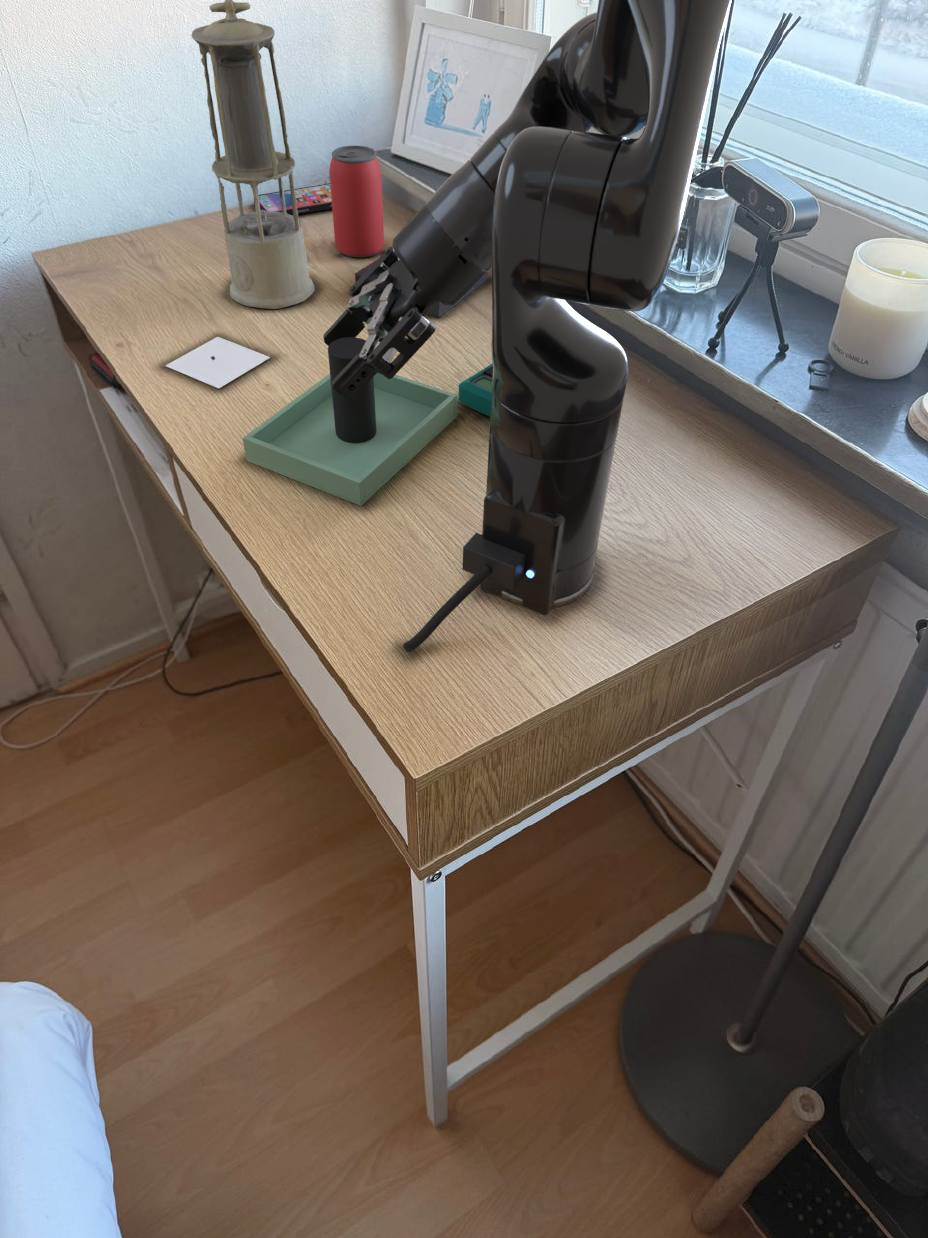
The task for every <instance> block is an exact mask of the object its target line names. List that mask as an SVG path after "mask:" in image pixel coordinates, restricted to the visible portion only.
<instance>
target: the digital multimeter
mask: <svg viewBox="0 0 928 1238" xmlns="http://www.w3.org/2000/svg"><path fill="white" fill-rule="evenodd" d="M492 378H493V363H491V364H489V365H488V366H486V367H484V368H483V369H481V370H480V371H478V372H476V373H475V374H473V375H471V376H470V377H468V378H467V379H465V380H463V381H461V382H460V383H459V384H458V395H457V401H458V402H460V403H461V404H462V405H464V406H466V407H469V408H470V409H472V410H473V411H476V412H478V413H480V414H483V415H485V416H487V417H489V418H490V417H491V399H492Z"/></svg>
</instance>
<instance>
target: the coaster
mask: <svg viewBox="0 0 928 1238" xmlns="http://www.w3.org/2000/svg"><path fill="white" fill-rule="evenodd" d="M270 358H271V357H270V356H268V355H266V354H263V353H260V352H258V351H256V350H253V349H250V348H248V347H245V346H243V345H240V344H238V343H235V342H233V341H230V340H229V339H228V340H227V339H225V338H222V337H220V336H216V337H213V339H211V340H209V341H207V342H205V343H203V344H202V345H200V346H197V347H196V348H195V349H192V350H190V351H189V352H187V353H186V354H184V355H182V356H179V357H178V358H176V359H175V360H173V361H171V362H169V363H167V364H166V365H164V367H167V368H169V369H171V370H174V371H176V372H179V373H181V374H183V375H186V376H188V377H191V378H193V379H195V380H196V381H197V380H198V381H200V382H203V383H204V384H207V385H209V386H212V387H213V388H216V389H221V388H222V387H224V386H225V385H227V384H229V383H230V382H232V381H234V380H235V379H237V378H239V377H241V376H242V375H244V374H245V373H247V372H249V371H250V370H252V369H254V368H256V367H258V366H259V365H261V364H262V363H264V362H265V361H267V360H269V359H270Z"/></svg>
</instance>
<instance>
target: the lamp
mask: <svg viewBox="0 0 928 1238" xmlns="http://www.w3.org/2000/svg"><path fill="white" fill-rule="evenodd" d="M250 9H251V4H250V3H249V2H246V1H245V2H239V1H237V2H236V1H234V0H224V1H223V2H215V3H212V4H210V5H209V10H210V12H211V13H225V14H226V15H225V17H224V18H222V19H218V20H215V21H213V22H211V23H210V24H206V25H203V26H199V27H197V28H194V29H193V30H192V32H191V38H192V40H194V41H195V43H197V45H198V49H199V53H200V55H201V57H202V58H201V60H200V61H201V64H202V65H203V71H204V72H203V73H204V78H205V79H204V80H205V84H206V92H207V95H206V97H207V98H206V102H207V103H206V105H207V107H208V114H209V125H210V131H211V136H212V138H213V141H214V151H215V152H214V159H215V160H214V162H213V163H212V164H211V171H212V172H213V173H214V174H215V176H216V178H217V183H218V190H219V200H220V210H221V214H222V215H221V216H222V221H223V228H224V229H223V232H224V239H225V244H226V245H225V246H226V250H227V258H228V263H229V264H228V265H229V271H230V277H231V283H230V285H229V296H230V298H231V299H232V300H234V301H235V302H237V303H238V304H240V305H243V306H246V307H250V308H259V309H270V310H277V309H284V308H286V307H290V306H295V305H297V304H300V303H302V302H305V301H306V300H308V298H310V297H311V296H312V295H313V293H314V291H315V290H316V287H315V285H314V281H313V280H312V277H311V276H310V273H309V264H308V258H307V253H306V252H307V251H306V245H305V239H304V228H303V224H302V221H301V220H300V218H299V214H298V211H297V203H296V195H295V189H296V188H295V181H294V175H293V173H294V169H295V167H296V160H295V159H294V158H293V157H292V156H291V151H290V146H289V143H288V133H287V124H286V123H287V122H286V115H285V109H284V108H285V107H284V103H283V102H284V101H283V96H282V92H281V89H280V85H279V84H280V83H279V78H278V74H277V68H276V60H275V55H274V53H275V48H274V43H273V39H274V37H275V33H276V32H275V29H274V28H273V27H272V26H269V25H266V24H262V23H258V22H254V21H249V20H247V19H245V18H238V16H237V14H239V13H242V12H245V11H249V10H250ZM263 48H265V49H267V51H268V55H269V60H270V65H271V71H272V78H273V82H274V88H275V94H276V100H277V107H278V112H279V118H280V126H281V132H282V140H283V145H284V153H283V152H281V151H276V149H275V144H274V139H273V134H272V133H273V132H272V124H271V119H270V112H269V106H268V100H267V95H266V86H265V81H264V77H263V68H262V67H263V66H262V62H261V60H262V54H261V53H260V51H261V49H263ZM207 54H209V56H210V61H211V67H212V73H213V83H214V92H215V98H216V104H217V112H218V119H219V125H220V131H221V136H222V142H223V147H224V148H223V149H224V155H223V156H221V150H220V143H219V142H220V141H219V135H218V128H217V121H216V115H215V114H216V113H215V108H214V100H213V96H212V91H211V83H210V82H211V81H210V74H209V68H208V56H207ZM283 177H288V182H289V190H290V191H291V199H292V209H293V215H289V214H287V213H286V208H285V197H284V191H285V190H284V184H283V183H284V182H283V179H282V178H283ZM221 179H223V180H225V181H228V182H229V183H232V184H234V185H235V189H236V195H237V196H236V197H237V203H238V208H239V209H238V210H239V215H238V216H236V217H234V218H232V219H230V220H229V217H228V216H229V215H228V210H227V209H228V208H227V204H226V197H225V185H223V182H222V181H221ZM271 180H275V181H276V180H277V182H278V183H277V184H278V192H279V191H280V198H281V207H282V212H273V211H265V210H260V204H259V195H260V194H259V188H258V186H259V184H260V185H261V184H263V183H265V182H269V181H271ZM241 184H244V185H249V186H250V188H251V191H252V195H253V202H254V201H255V203H254V207H255V211H253V212H248V213H245V212H244V204H243V203H244V201H243V195H242V194H243V193H242V189H241Z"/></svg>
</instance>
